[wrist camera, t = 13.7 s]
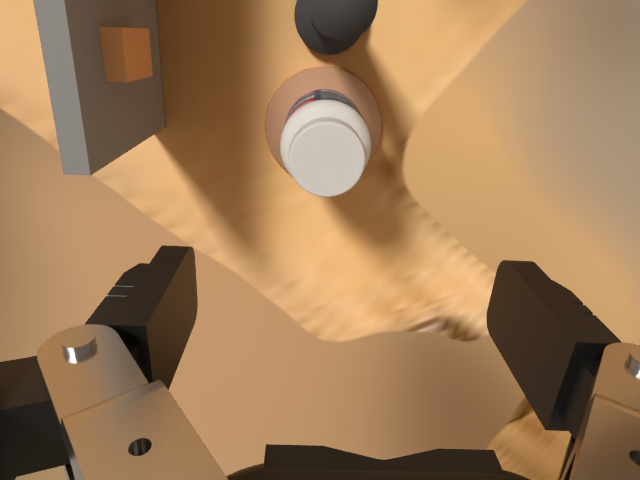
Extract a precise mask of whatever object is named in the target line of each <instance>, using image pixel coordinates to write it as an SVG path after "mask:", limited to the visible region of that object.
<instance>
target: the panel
mask: <svg viewBox="0 0 640 480" xmlns="http://www.w3.org/2000/svg"><path fill="white" fill-rule="evenodd" d="M33 1H34V7H35V13H36V18H37V24H38V30H39V35H40V41H41V47H42V53H43V58H44V64H45V70H46V76H47V81H48V87H49V93H50V98H51V104H52V110H53V116H54V121H55V127H56V133H57V139H58V144H59V150H60V156H61V161H62V167H63V173H64V174H72V175H92V174H93V173H95V172H97V171H98V170H100V169H101V168H103V167H104V166H106V165H107V164H109V163H111V162H112V161H114V160H115V159H117V158H118V157H120V156H121V155H123V154H124V153H126V152H128V151H129V150H131V149H132V148H134V147H135V146H137V145H138V144H140V143H141V142H143V141H145V140H146V139H148V138H149V137H151V136H152V135H154V134H155V133H157V132H158V131H160V130H162V129H163V128H165V127H166V125H165V112H164V100H163V87H162V74H161V62H160V49H159V36H158V24H157V11H156V0H33Z"/></svg>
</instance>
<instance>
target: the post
mask: <svg viewBox="0 0 640 480" xmlns="http://www.w3.org/2000/svg"><path fill="white" fill-rule="evenodd" d="M377 6H378V0H297V3H296V7H295V24H296V28H297V31H298V33H299V35H300V37H301V38H302V40H303V41H304V42H305V43H306V44H307V45H308V46H309V47H310V48H311V49H313V50H315V51H317V52H319V53H323V54H337V53H340V52H343V51H345V50H347V49H348V48H350V47H351V46H352V45H353V44H354V43H355V42H356V41H357V39H358V38H359V37H360V35H361V34H363V33H364V32H365V31H366V30H367V29H368V28H369V26H370V25H371V24H372V22H373V20H374V18H375V15H376V12H377Z"/></svg>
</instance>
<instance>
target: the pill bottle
mask: <svg viewBox="0 0 640 480" xmlns="http://www.w3.org/2000/svg"><path fill="white" fill-rule="evenodd" d="M280 152H281V157H282V161H283V163H284V166H285V168H286V169H287V171H288V172H289V174H290V175H291V176H292V177H293V178H294V179H295V181H296V182H297V183H298V185H299V186H300V187H301V188H303V189H304V190H306V191H307V192H309V193H311V194H313V195H317V196H321V197H331V196H337V195H340V194H342V193H345V192H346V191H348V190H350V189H351V188H352V187H353V186H354V185H355V184H356V183H357V181H358V180H359V179H360V177H361V175H362V173H363V171H364V169H365V167H366V165H367V163H368V160H369V157H370V152H371V137H370V133H369V129H368V127H367V125H366V122H365V121H364V119H363V117H362V115H361V113H360V112H359V110H358V108H357V107H356V105H355V104H354V103H353V101H352V100H351V99H350V98H348V97H347V96H346V95H344V94H343V93H341V92H339V91H336V90H332V89H316V90H312V91H309V92H307V93H305V94H303V95H302V96H301V97H299V98H298V99H297V100H296V101H295V102H294V104H293V105H292V107H291V108H290V110H289V112H288V115H287V117H286V121H285V124H284V128H283V131H282V135H281V141H280Z"/></svg>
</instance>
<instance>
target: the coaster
mask: <svg viewBox="0 0 640 480" xmlns="http://www.w3.org/2000/svg"><path fill="white" fill-rule="evenodd" d="M316 89H332V90H336V91H339V92H341V93H343V94H344V95H346V96H347V97H348V98H350V99H351V100H352V101H353V103H354V104H355V105H356V107H357V108H358V110H359V112H360V113H361V115H362V117H363V119H364V121H365V122H366V125H367V127H368V129H369V133H370V137H371V152H370V157H369V160H368V162H369V161H370V160H371V158H372V157H373V155H374V153H375V151H376V149H377V147H378V143H379V140H380V135H381V116H380V111H379V108H378V105H377V102H376V100H375V98H374V96H373V94H372V93H371V92H370V90H369V89H368V88H367V86H366V85H365V84H364V83H363V82H362V81H360V80H359V79H358V78H357V77H355V76H354V75H352V74H350V73H348V72H346V71H344V70H341V69H337V68H333V67H314V68H309V69H306V70H303V71H301V72H299V73H296V74H295V75H293V76H292V77H290V78H289V79H288V80H286V81H285V82H284V83H283V84H282V85H281V86H280V87H279V88H278V90H277V91H276V93H275V94H274V96H273V98H272V100H271V102H270V104H269V107H268V110H267V114H266V121H265V131H266V138H267V142H268V145H269V148H270V151H271V153H272V155H273V156H274V158H275V159H276V161H277V162H278V163H279V165H280V166H281V167H282V168H283V169H284V170H285V171H286V172H288V171H287V169H286V168H285V166H284V163H283V161H282V157H281V152H280V141H281V135H282V131H283V128H284V124H285V121H286V117H287V115H288V112H289V110H290V108H291V107H292V105H293V104H294V102H295V101H296V100H297V99H298V98H299V97H301V96H302V95H303V94H305V93H307V92H309V91H312V90H316ZM367 164H368V163H367ZM288 173H289V172H288Z"/></svg>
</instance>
